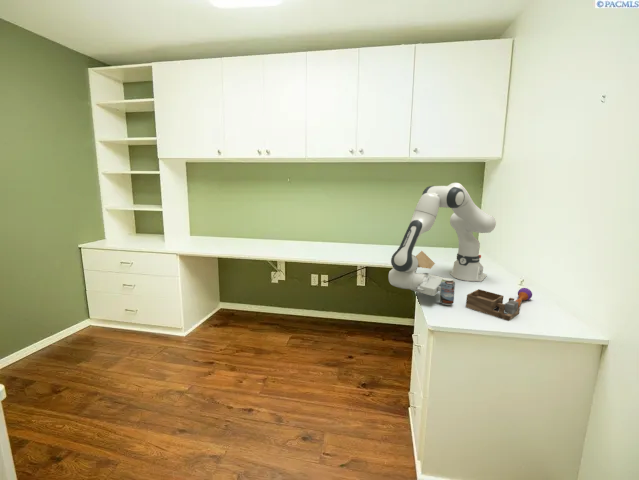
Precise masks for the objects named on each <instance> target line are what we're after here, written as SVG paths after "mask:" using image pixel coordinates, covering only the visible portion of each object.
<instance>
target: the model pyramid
mask: <svg viewBox="0 0 639 480" xmlns="http://www.w3.org/2000/svg"><path fill="white" fill-rule="evenodd" d="M414 256H415V257H416V258H417V259H418V267H417V268H422V269H423V268H424V269H429V270H431V269H432V268H433V267H434V266H435V264H436V263H435V261H434V260H432V259H431V258H430V257H429V255H427V254H426V253H425V252H424V251H423V250H421V251H420V252H419V253H417V254H416V255H414Z"/></svg>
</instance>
